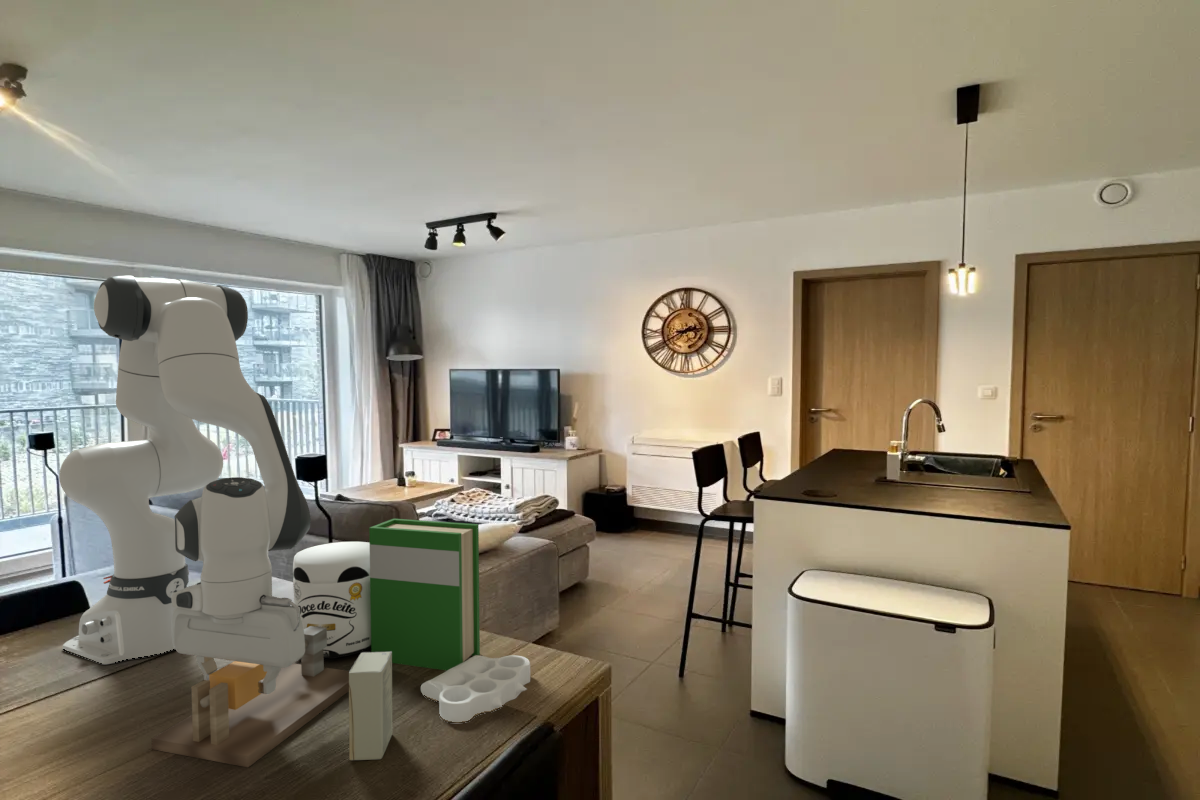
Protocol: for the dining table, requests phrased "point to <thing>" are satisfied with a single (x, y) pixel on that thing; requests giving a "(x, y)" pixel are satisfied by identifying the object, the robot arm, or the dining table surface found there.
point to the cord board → (257, 711)
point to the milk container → (335, 594)
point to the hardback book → (425, 592)
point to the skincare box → (370, 705)
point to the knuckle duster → (478, 685)
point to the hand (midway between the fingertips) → (239, 687)
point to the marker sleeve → (239, 682)
